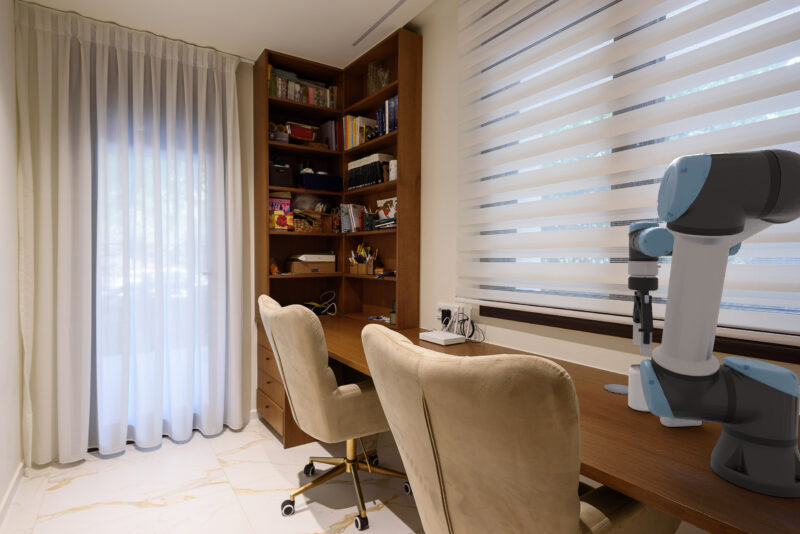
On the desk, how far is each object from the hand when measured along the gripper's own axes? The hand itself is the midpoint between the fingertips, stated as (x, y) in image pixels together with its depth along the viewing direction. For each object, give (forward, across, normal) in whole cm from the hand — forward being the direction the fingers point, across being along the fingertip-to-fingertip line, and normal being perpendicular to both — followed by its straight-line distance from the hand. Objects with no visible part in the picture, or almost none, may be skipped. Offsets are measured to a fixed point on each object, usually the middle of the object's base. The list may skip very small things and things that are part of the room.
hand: (641, 349), depth 123 cm
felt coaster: (+17, +16, +4) cm, 24 cm away
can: (+17, 0, 0) cm, 17 cm away
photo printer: (+17, -9, -8) cm, 21 cm away
